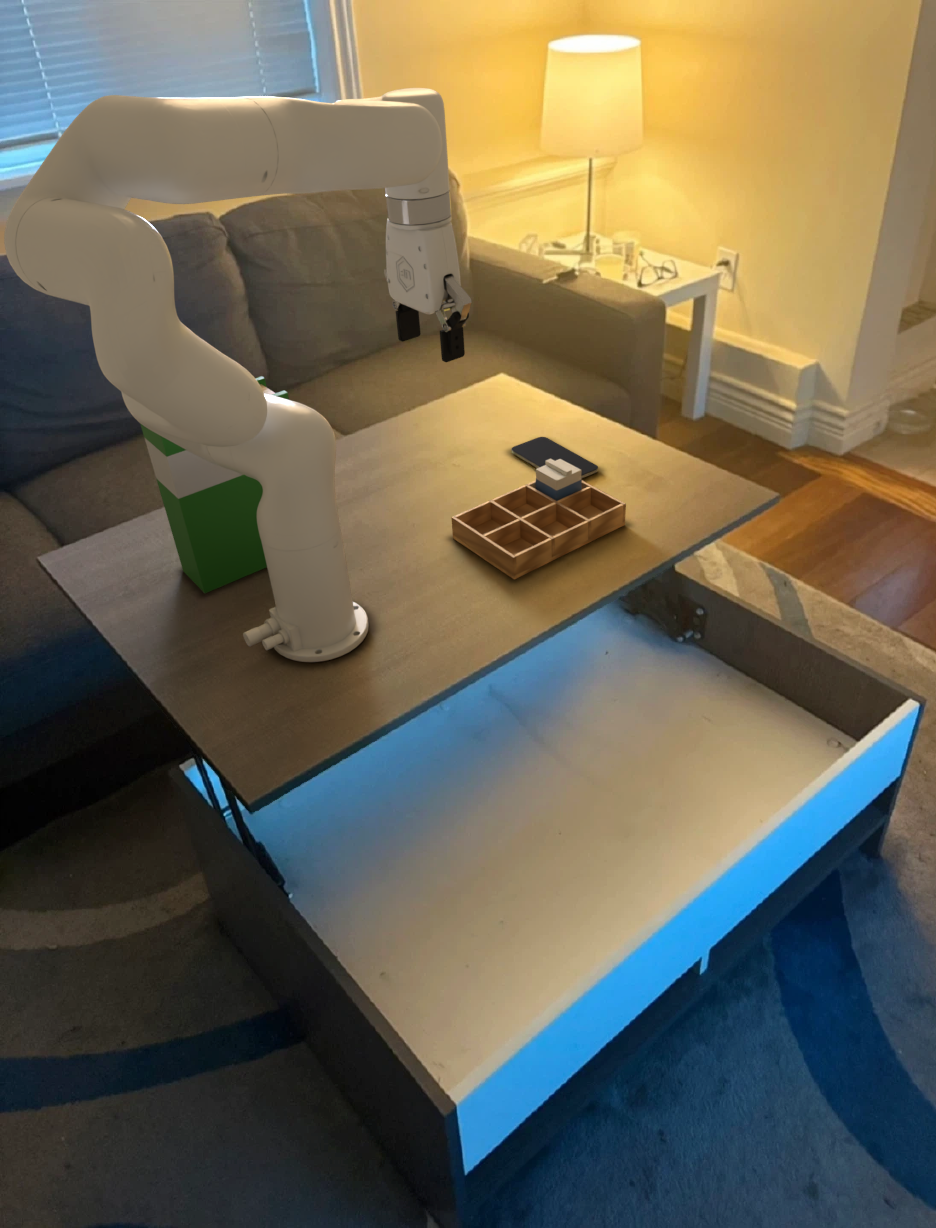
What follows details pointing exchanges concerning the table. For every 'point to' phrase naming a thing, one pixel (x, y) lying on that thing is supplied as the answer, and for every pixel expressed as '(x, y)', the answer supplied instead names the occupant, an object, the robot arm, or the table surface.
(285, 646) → the robot arm
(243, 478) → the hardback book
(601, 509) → the compartment tray
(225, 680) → the table surface
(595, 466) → the smartphone
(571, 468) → the milk carton
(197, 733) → the table surface
